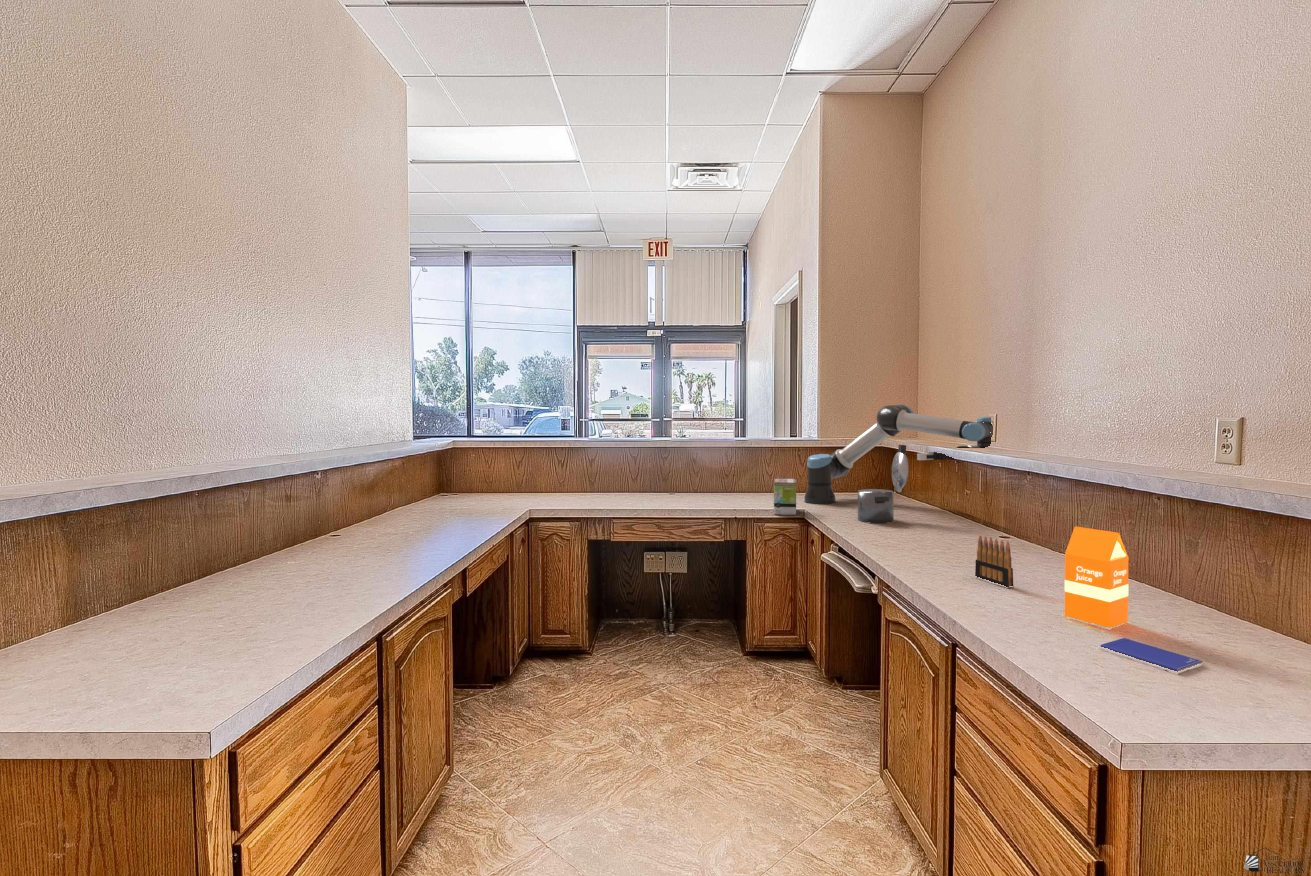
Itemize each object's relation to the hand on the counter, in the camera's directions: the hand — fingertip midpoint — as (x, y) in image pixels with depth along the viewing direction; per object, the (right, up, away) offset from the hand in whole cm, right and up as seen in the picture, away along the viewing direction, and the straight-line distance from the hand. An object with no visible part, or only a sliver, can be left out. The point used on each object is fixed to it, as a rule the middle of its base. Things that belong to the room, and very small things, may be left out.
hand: (918, 456), depth 248 cm
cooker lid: (-8, -5, 0) cm, 10 cm away
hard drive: (-17, -34, -137) cm, 142 cm away
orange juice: (-13, -32, -118) cm, 123 cm away
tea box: (-50, -26, +26) cm, 62 cm away
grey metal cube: (-17, -26, +1) cm, 32 cm away
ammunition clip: (-19, -31, -89) cm, 96 cm away
